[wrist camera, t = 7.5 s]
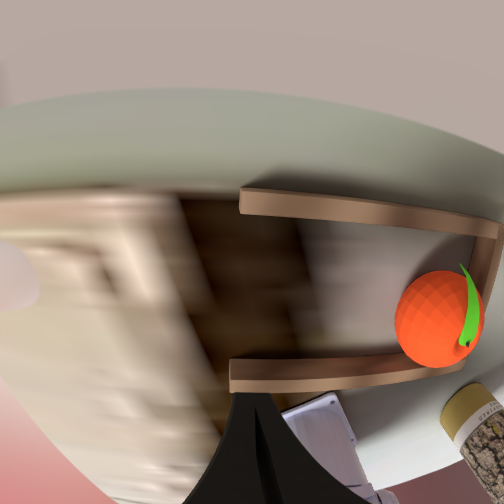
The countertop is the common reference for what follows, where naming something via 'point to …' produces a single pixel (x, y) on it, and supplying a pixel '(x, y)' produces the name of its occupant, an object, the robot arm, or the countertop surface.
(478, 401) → the paper tube
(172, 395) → the countertop surface
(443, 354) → the clementine
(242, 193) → the holder
